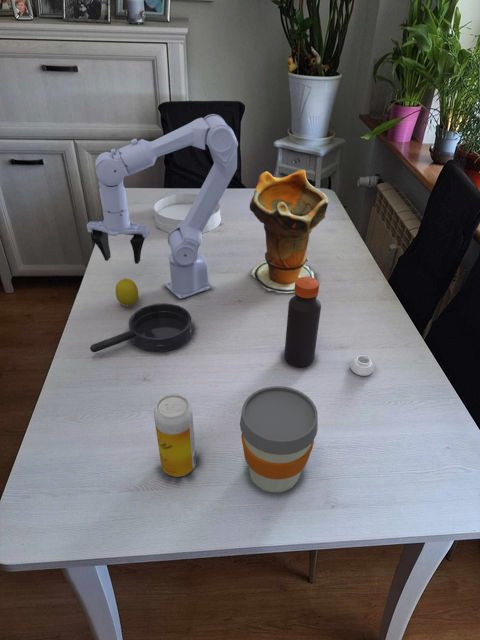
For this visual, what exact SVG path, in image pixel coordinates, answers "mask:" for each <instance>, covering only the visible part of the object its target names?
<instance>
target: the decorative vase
mask: <svg viewBox="0 0 480 640" xmlns="http://www.w3.org/2000/svg"><path fill="white" fill-rule="evenodd" d="M253 191H254V192H253V196H252V197H251V200H250V202H249V210H250V211H251V212H252V213H253V215H254V216H255V218H256V219H257V220H258V221H259V222H260V223H261V224H263V230H264V234H265V246H266V247H265V248H266V252H265V253H264V258H265V260H264V262H261V263H259V264H258V265H256V266H255V268H254V269H252V272H251V275H252V276H253V278H254V279H257V282H258V283H259V284H260V285H261V286H262V288H263V289H266V290H267V291H268V292H271V291H273V292H276V293H277V294H290V293H291V294H293V293H295V281H296V280H297V279H298V278H301V277H312V278H314V279H315V273H314V272H313V270H311V267H310V266H307V265H306V263H307V262H309V261H308V258H307V257H306V255H307V250H308V246H309V242H310V235H311V233H312V231H313V230H314V229H315V228H316V227H318V225H319V224H320V223H321V222H322V220H324V219H325V218H326V214H327V209H328V206H329V202H330V199H329V198H328V196H327V195H326V194H325V193H324V192H323V191H321V190H320V189H318V188H317V187H315V186H313V184H311V183H310V182H309V181H308V178H307V171H306V170H305V169H299V170H296V171H295V172H293V173H291V174H288V175H286V176H282V177H275V176H273V175H272V173H270V172H269V171H264V172H262V173H260V175H259V176H258V181H257V185H256V187H255V189H254V190H253Z"/></svg>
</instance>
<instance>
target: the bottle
mask: <svg viewBox="0 0 480 640" xmlns="http://www.w3.org/2000/svg"><path fill="white" fill-rule="evenodd" d="M319 292H320V282H319V280H318V279H316V278H315V277H314V278H312V277H301V278H298V279H297V280H296V281H295V292H294V295H293V296H292V297H291V298H290V299H289V301H288V308H287V319H286V328H285V329H286V330H285V340H284V341H285V342H284V343H285V344H284V355H283V356H284V360H285V362H286V364H287V365H288V364H289V365H290V366H292V367H295V368H307V367H308V366H310V365H312V364H313V362H314V360H315V356H316V355H315V354H316V348H317V341H318V332H319V324H320V317H321V311H322V303H321V300H320V299H319V298H318V296H319Z"/></svg>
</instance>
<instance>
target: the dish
mask: <svg viewBox="0 0 480 640" xmlns="http://www.w3.org/2000/svg"><path fill="white" fill-rule="evenodd" d="M197 195H198V193H197V194H195V193H180V194H173V195H168V196H166V197H163V198H161V199H159V200H157V201H156V202H155V204H154V207H153V210H154V223H155V225H156V227H157V228H158V229H159V230H161V231H163V232H166V233H168V234H170V232H171V231H173V230H174V229H175V228H176V227H177V226H178V224H179V223H180V222H181V221H183V220H185V218H186V216H187V214H188V212H189V210H190V208H191V206H192V204H193V202H194V201H195V199H196V197H197ZM219 203H220V202H218V204H217V206H216V208H215V210H214V212H213V213H212V215H211V217H210V219H209V221H208V222H207V224H206V226H205V228H204V230H203V232H202V234H206V233H209V232H211V231H213V230H215V229H216V228H218V226H220V224H221V207H220V204H219Z"/></svg>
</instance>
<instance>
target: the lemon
mask: <svg viewBox="0 0 480 640" xmlns="http://www.w3.org/2000/svg"><path fill="white" fill-rule="evenodd" d="M114 292H115V293H114V294H115V297H116V301H118V303H119V304H120V305H122V306H126V307H131V306H132V305H134V304H136V303H137V301H138V299H139V289H138V286H137V284H136V283H135V281H134V280H132V279H130V278H126V277H125V278H122V279H119V281H118V282H117V283H116V285H115V291H114Z"/></svg>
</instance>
